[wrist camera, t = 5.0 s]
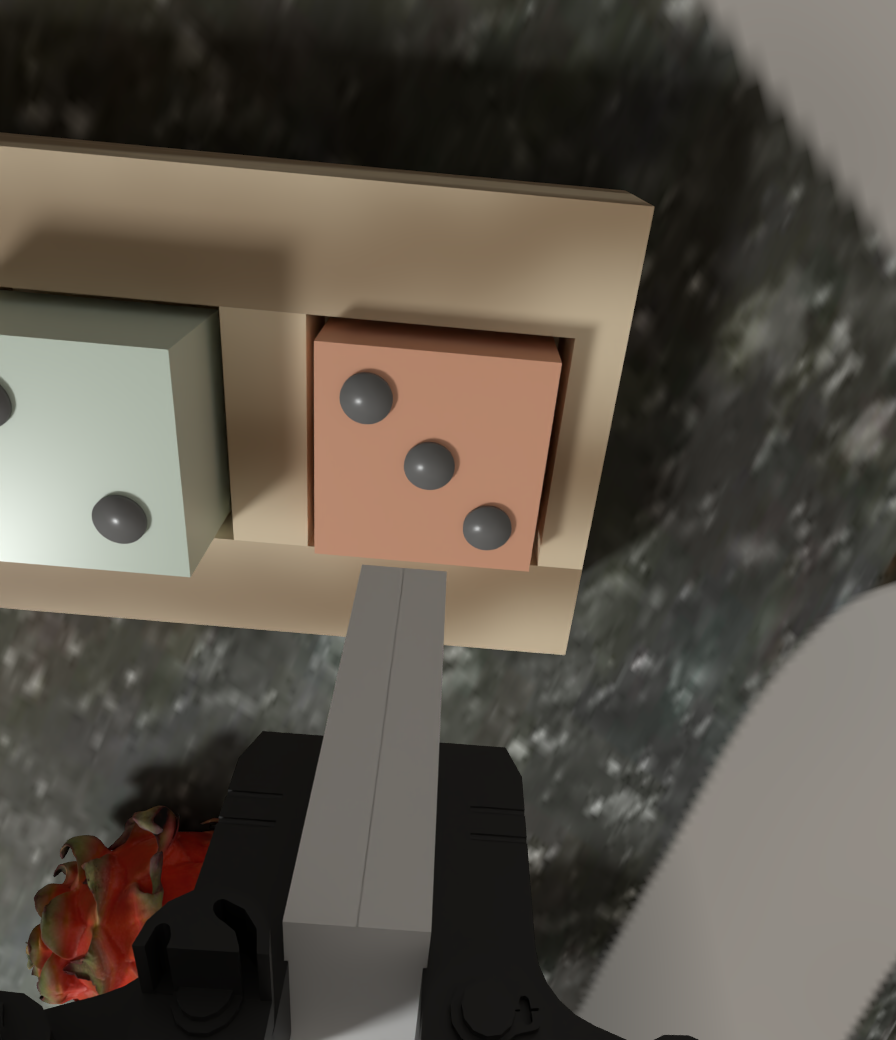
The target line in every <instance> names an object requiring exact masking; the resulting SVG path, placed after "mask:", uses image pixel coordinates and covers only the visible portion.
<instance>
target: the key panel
mask: <svg viewBox="0 0 896 1040" xmlns="http://www.w3.org/2000/svg"><path fill="white" fill-rule="evenodd" d="M653 212H654V206H653V205H651V204H649V203H647V202H645V201H644V200H642V199H640V198H638V197H636V196H635V195H633V194H631V193H629V192H627V191H625V190H614V189H603V188H593V187H582V186H571V185H560V184H550V183H539V182H528V181H517V180H507V179H496V178H485V177H474V176H464V175H453V174H442V173H431V172H421V171H410V170H399V169H388V168H378V167H367V166H356V165H345V164H335V163H324V162H313V161H302V160H292V159H281V158H270V157H259V156H249V155H238V154H227V153H216V152H206V151H195V150H184V149H173V148H163V147H152V146H141V145H130V144H120V143H109V142H98V141H87V140H77V139H66V138H55V137H44V136H34V135H23V134H12V133H1V132H0V290H7V291H19V292H30V293H41V294H52V295H63V296H74V297H85V298H96V299H107V300H119V301H130V302H141V303H152V304H163V305H174V306H185V307H196V308H207V309H218V312H219V327H220V343H221V359H222V374H223V390H224V406H225V421H226V437H227V453H228V468H229V484H230V500H231V510H230V512H229V514H228V515H227V517H226V519H225V520H224V522H223V524H222V525H221V527H220V529H219V530H218V532H217V534H216V535H215V537H214V539H213V541H212V542H211V544H210V546H209V547H208V549H207V551H206V552H205V554H204V556H203V557H202V559H201V561H200V562H199V564H198V566H197V567H196V569H195V571H194V572H193V574H192V576H191V577H180V576H169V575H157V574H145V573H133V572H121V571H110V570H98V569H86V568H74V567H62V566H51V565H39V564H27V563H15V562H3V561H0V608H10V609H22V610H34V611H46V612H57V613H69V614H81V615H93V616H105V617H117V618H129V619H141V620H153V621H165V622H177V623H189V624H201V625H212V626H224V627H236V628H248V629H260V630H272V631H284V632H296V633H308V634H320V635H332V636H344V637H346V634H347V630H348V625H349V621H350V616H351V612H352V607H353V603H354V598H355V594H356V589H357V585H358V580H359V576H360V571H361V567H362V565H373V566H386V567H398V568H410V569H423V570H435V571H447V578H446V601H445V624H444V645H451V646H463V647H475V648H487V649H499V650H511V651H523V652H535V653H546V654H558V655H565V653H566V648H567V643H568V638H569V633H570V628H571V623H572V618H573V613H574V608H575V603H576V598H577V593H578V588H579V583H580V578H581V573H582V568H583V563H584V558H585V553H586V548H587V543H588V538H589V533H590V528H591V523H592V518H593V513H594V508H595V503H596V498H597V493H598V488H599V483H600V478H601V473H602V468H603V463H604V458H605V453H606V448H607V443H608V438H609V433H610V428H611V422H612V417H613V412H614V407H615V402H616V397H617V392H618V387H619V382H620V377H621V372H622V367H623V362H624V357H625V352H626V347H627V342H628V337H629V332H630V327H631V322H632V317H633V312H634V307H635V302H636V297H637V292H638V287H639V282H640V277H641V272H642V267H643V262H644V257H645V252H646V247H647V242H648V237H649V232H650V227H651V222H652V217H653ZM330 316H332V317H343V318H354V319H365V320H376V321H387V322H398V323H410V324H421V325H432V326H443V327H454V328H465V329H476V330H487V331H498V332H510V333H521V334H532V335H543V336H553V339H554V341H555V344H556V347H557V350H558V353H559V356H560V359H561V362H562V366H561V373H560V379H559V385H558V391H557V398H556V404H555V410H554V417H553V423H552V429H551V435H550V442H549V448H548V454H547V460H546V467H545V473H544V479H543V485H542V492H541V498H540V504H539V511H538V517H537V523H536V529H535V536H534V542H533V548H532V554H531V561H530V567H529V572H527V571H515V570H503V569H492V568H480V567H468V566H456V565H445V564H433V563H421V562H410V561H398V560H386V559H374V558H363V557H351V556H339V555H328V554H316V553H315V542H314V340H315V338H316V337H317V335H318V334H319V332H320V331H321V330H322V328H323V327H324V325H325V324H326V322H327V321H328V319H329V318H330Z"/></svg>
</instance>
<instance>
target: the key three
mask: <svg viewBox="0 0 896 1040" xmlns="http://www.w3.org/2000/svg"><path fill="white" fill-rule="evenodd" d="M561 366H562V362H561V359H560V356H559V353H558V350H557V347H556V344H555V341H554V339H553V336H543V335H532V334H521V333H510V332H498V331H487V330H476V329H465V328H454V327H443V326H432V325H421V324H410V323H398V322H387V321H376V320H365V319H354V318H343V317H332V316H330V318H329V319H328V321H327V322H326V324H325V325H324V327H323V328H322V330H321V331H320V332H319V334H318V335H317V337H316V338H315V340H314V542H315V553H316V554H328V555H339V556H351V557H363V558H374V559H386V560H398V561H410V562H421V563H433V564H445V565H456V566H468V567H480V568H492V569H503V570H515V571H527V572H529V567H530V561H531V554H532V548H533V542H534V536H535V529H536V523H537V517H538V511H539V504H540V498H541V492H542V485H543V479H544V473H545V467H546V460H547V454H548V448H549V442H550V435H551V429H552V423H553V417H554V410H555V404H556V398H557V391H558V385H559V379H560V373H561Z"/></svg>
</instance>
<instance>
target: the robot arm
mask: <svg viewBox="0 0 896 1040" xmlns="http://www.w3.org/2000/svg"><path fill="white" fill-rule="evenodd" d="M446 578H447V571H435V570H423V569H410V568H398V567H386V566H373V565H362V567H361V571H360V576H359V580H358V585H357V589H356V594H355V598H354V603H353V607H352V612H351V616H350V621H349V625H348V630H347V634H346V639H345V643H344V648H343V652H342V657H341V661H340V666H339V670H338V675H337V679H336V684H335V688H334V693H333V697H332V702H331V706H330V711H329V715H328V720H327V724H326V729H325V733H324V736H319V735H306V734H292V733H279V732H266V731H263V732H262V733H261V734H260V735H259V736H258V737H257V738H256V739H255V741H254V742H253V743H252V744H251V745H250V746H249V747H248V748H247V749H246V751H245V752H244V753H243V754H242V755H241V756H240V757H239V759H238V762H237V765H236V768H235V771H234V774H233V777H232V780H231V783H230V786H229V789H228V795H227V796H226V797H225V800H224V803H223V806H222V809H221V812H220V815H219V821H218V823H217V824H216V827H215V829H214V832H213V835H212V838H211V841H210V844H209V847H208V850H207V853H206V856H205V859H204V862H203V865H202V867H201V870H200V873H199V876H198V879H197V882H196V885H195V888H194V890H193V891H190V892H188V893H186V894H184V895H181V896H179V897H177V898H175V899H173V900H170V901H168V902H167V903H166V904H165V905H164V906H163V907H161V908H160V909H159V910H158V911H157V912H156V913H155V914H154V915H152V916H151V917H150V918H149V919H148V920H147V921H146V922H145V924H144V926H143V927H142V929H141V931H140V932H139V934H138V936H137V937H136V939H135V941H134V942H133V944H132V949H133V953H134V958H135V963H136V967H137V972H138V978H137V979H135V980H133V981H132V982H130V983H128V984H127V985H125V986H123V987H120V988H118V989H115V990H112V991H110V992H107V993H104V994H101V995H97V996H94V997H90V998H86V999H82V1000H79V1001H75V1002H71V1003H67V1004H64V1005H60V1006H56V1007H53V1008H49V1009H45V1010H43V1007H42V1006H41V1005H39V1004H38V1003H37V1002H35V1001H34V1000H32V999H31V998H30V997H28V996H27V995H25V994H24V993H15V992H6V991H0V1040H626V1039H623V1038H621V1037H619V1036H617V1035H614V1034H612V1033H610V1032H608V1031H605V1030H603V1029H601V1028H598V1027H596V1026H594V1025H592V1024H591V1023H589V1022H587V1021H585V1020H584V1019H582V1018H580V1017H578V1016H577V1015H575V1014H574V1013H573V1012H572V1011H571V1010H570V1009H568V1008H567V1007H566V1006H565V1005H564V1004H563V1003H562V1002H561V1001H560V1000H559V999H558V998H557V996H556V995H555V994H554V992H553V991H552V989H551V988H550V987H549V985H548V984H547V982H546V980H545V978H544V975H543V973H542V971H541V969H540V966H539V963H538V958H537V953H536V948H535V937H534V924H533V912H532V899H531V887H530V874H529V861H528V849H527V844H526V837H527V836H526V823H525V816H524V798H523V785H522V776H521V775H520V773H519V771H518V769H517V767H516V766H515V764H514V762H513V760H512V759H511V757H510V755H509V753H508V751H507V750H506V748H503V747H490V746H477V745H464V744H451V743H439V740H440V717H441V694H442V671H443V647H444V624H445V601H446ZM655 1040H698V1039H695V1038H693V1037H691V1036H687V1035H686V1036H684V1035H663V1036H661V1037H659V1038H657V1039H655Z"/></svg>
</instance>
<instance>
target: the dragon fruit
mask: <svg viewBox="0 0 896 1040" xmlns="http://www.w3.org/2000/svg"><path fill="white" fill-rule="evenodd" d="M218 821H219V818H214V817H213V818H212V819H210V820H207V821H205V822H203V823H199V824H210V823H218ZM179 823H180V818H179V815H178V814H177V818H176V815H175V814H174V813H173V812H172V811H171V810H170V809H169V808H168V807H166V806H155V807H153V808H151V809H148V810H146V811H139V812H136V813H134V815H133V817H132V818H130V819H129V820H128V821H127V822H126V824H125V831H124V833H123V834H122V835H121V836H120V838H119V839H117V840H116V841H115V843H114V844H112V845H111V846H110V847H109V848H107V847H105V846H104V844H103V843H102V842H101V840H99V839H98V838H97V837H95V836H89V835H82V836H76V837H73V838H71V839H69V840H68V841H67V842H66V843H65V844H64V846H63V847H62V848H61V850H60V857H61V859H63V858H64V857H65V856H66V854H67V852H68V850H69V848H71V849H72V852H73V855H74V856H75V857H76V860H77V861H72V862H67V863H63V864H60V865H58V867H57V869H56V870H55V872H54V877H55V876H57V875H58V874H59V873H60V872H63V873H64V874H65V875H66V879H65V881H64V883H63V884H48V885H46V886H45V887H43V888H42V889H40V890H39V891H38V892H37V893H36V895H35V897H34V901H35V908H36V910H37V912H38V914H39V916H40V917H41V923H40V924H39V925H37V926H36V927H35V928H34V929H33V930H32V932H31V934H30V936H29V940H28V942H26V943H27V944H28V946H27V947H26V953H27V956H28V959H29V960H28V964H27V967H28V969H31V968H32V967H33V970H32V975H35V976H37V977H38V979H39V981H38V982H37V989H38V991H39V992H40V994H41V995H42V996H40V999H41V1000H42V1001H44V1002H46V1003H49V1004H63V1003H65V1002H67V1001H69V1000H71V999H73V1000H74V1001H79V1000H82V999H86V998H90V997H94V996H97V995H101V994H104V993H107V992H110V991H112V990H115V989H118V988H120V987H123V986H125V985H127V984H128V983H130V982H132V981H133V980H135V979H137V978H138V972H137V967H136V963H135V958H134V953H133V949H132V944H133V942H134V941H135V939H136V937H137V936H138V934H139V932H140V931H141V929H142V927H143V926H144V924H145V922H146V921H147V920H148V919H149V918H150V917H151V916H152V915H154V914H155V913H156V912H157V911H158V910H159V909H160V908H161V907H163V906H164V905H165V904H166V903H167V902H168V901H170V900H173V899H175V898H177V897H179V896H181V895H184V894H186V893H188V892H190V891H193V890H194V888H195V885H196V882H197V879H198V876H199V873H200V870H201V867H202V865H203V862H204V859H205V856H206V853H207V850H208V847H209V844H210V841H211V838H212V835H213V832H214V829H215V827H216V825H214V826H211V825H210V827H209V828H210V829H211V830H213V831H205V832H178V829H179ZM110 850H113V851H110Z"/></svg>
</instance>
